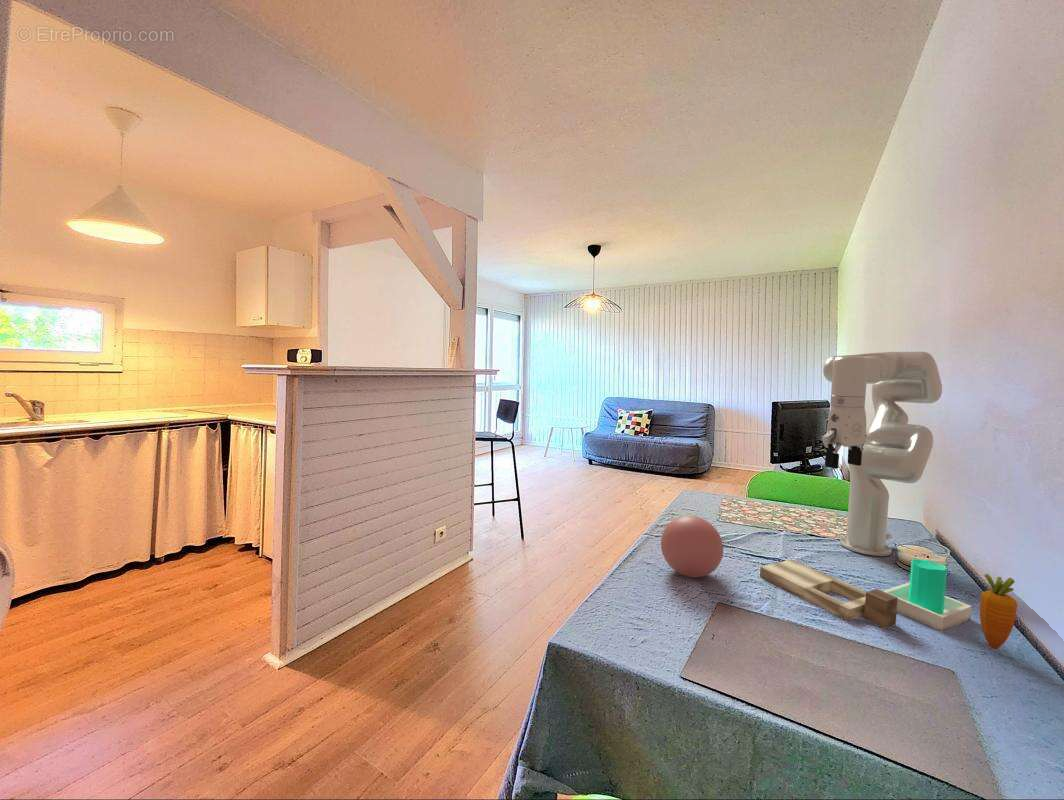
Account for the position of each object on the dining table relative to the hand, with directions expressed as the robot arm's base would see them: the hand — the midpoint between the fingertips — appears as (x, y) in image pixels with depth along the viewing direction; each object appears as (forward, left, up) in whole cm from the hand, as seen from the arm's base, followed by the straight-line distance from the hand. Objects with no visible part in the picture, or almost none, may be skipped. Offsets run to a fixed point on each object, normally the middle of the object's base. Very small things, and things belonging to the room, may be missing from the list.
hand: (843, 466), depth 120 cm
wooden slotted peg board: (+18, +7, -28) cm, 34 cm away
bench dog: (+18, +20, -28) cm, 39 cm away
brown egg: (+38, -13, -28) cm, 49 cm away
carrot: (+8, +35, -28) cm, 46 cm away
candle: (+4, +22, -28) cm, 36 cm away
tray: (+4, +22, -28) cm, 36 cm away
